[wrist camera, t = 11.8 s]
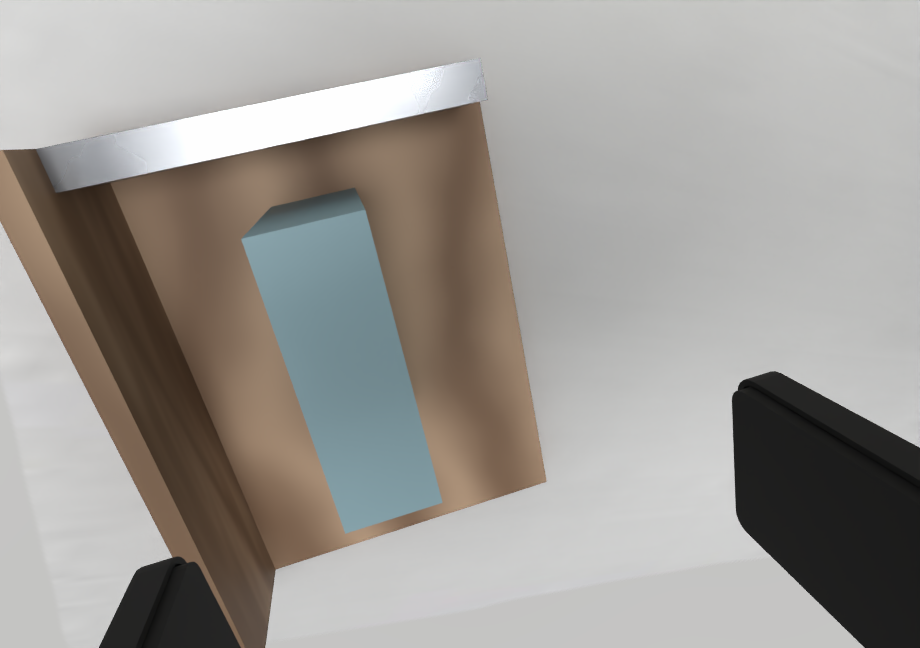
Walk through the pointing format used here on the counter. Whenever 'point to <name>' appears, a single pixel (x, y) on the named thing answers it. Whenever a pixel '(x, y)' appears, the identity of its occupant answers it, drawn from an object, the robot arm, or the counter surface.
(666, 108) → the counter surface
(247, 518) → the shelf
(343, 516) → the book
